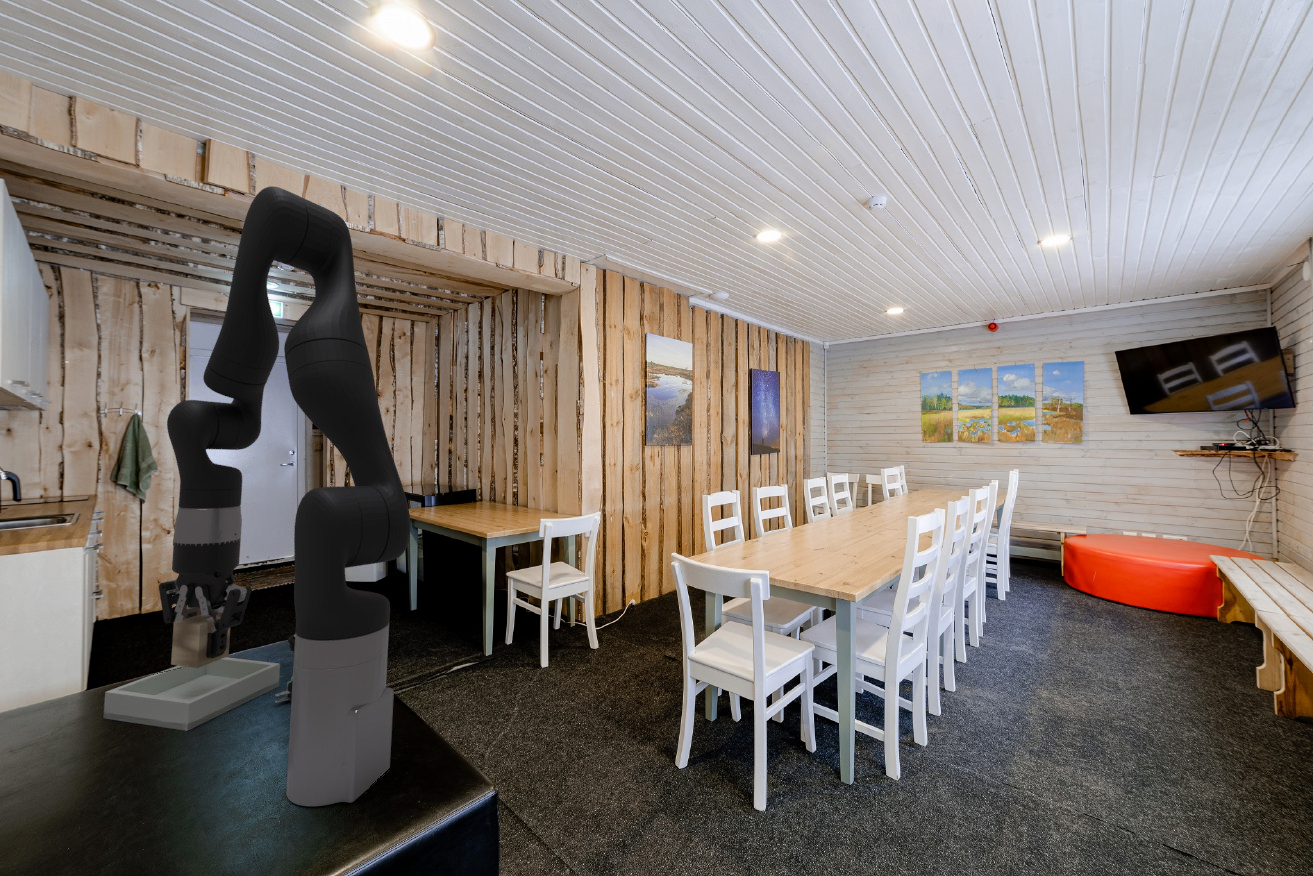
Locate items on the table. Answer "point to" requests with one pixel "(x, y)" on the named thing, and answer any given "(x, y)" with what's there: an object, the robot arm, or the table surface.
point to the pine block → (193, 642)
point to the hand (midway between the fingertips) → (200, 654)
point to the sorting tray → (191, 693)
